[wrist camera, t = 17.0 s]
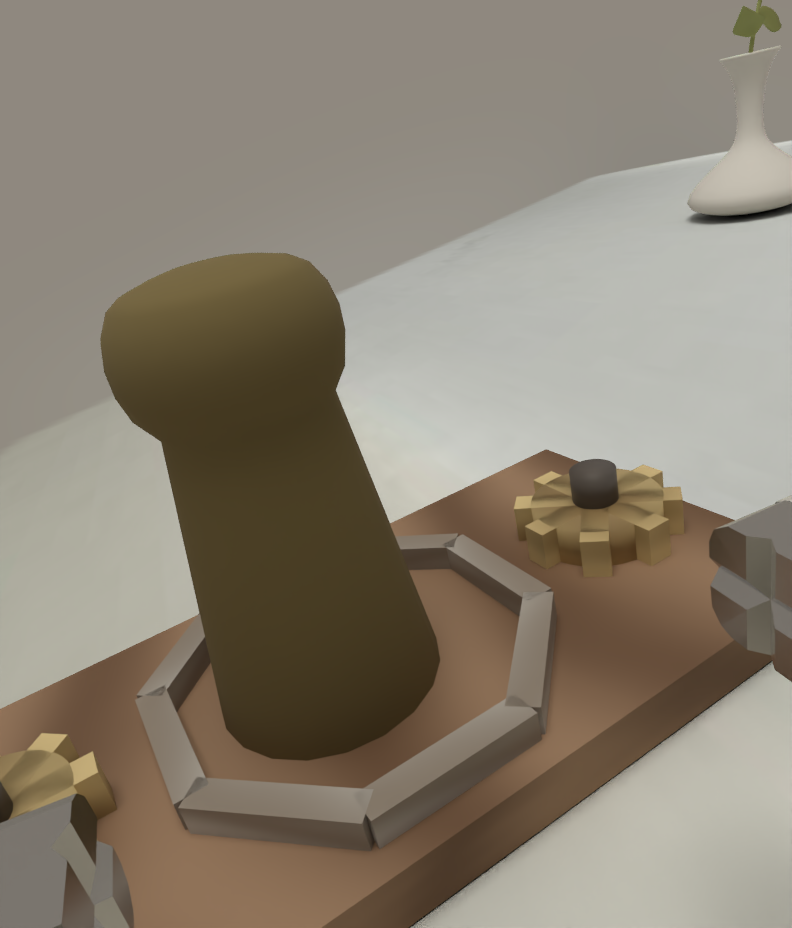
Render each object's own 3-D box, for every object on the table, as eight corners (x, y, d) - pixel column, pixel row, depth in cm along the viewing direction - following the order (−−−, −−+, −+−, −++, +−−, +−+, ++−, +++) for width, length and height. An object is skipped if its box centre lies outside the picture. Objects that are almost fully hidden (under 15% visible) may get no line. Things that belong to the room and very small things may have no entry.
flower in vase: (769, 224, 64) (770, -122, 54) (663, 226, 73) (646, -69, 63) (854, 190, 69) (869, -130, 59) (745, 196, 79) (742, -80, 69)
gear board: (550, 482, 30) (539, 398, 28) (843, 608, 20) (850, 489, 18) (-96, 804, 21) (-164, 707, 19) (-150, 1336, 11) (-299, 1220, 9)
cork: (194, 669, 21) (39, 294, 17) (373, 579, 23) (280, 228, 19) (267, 806, 16) (74, 322, 12) (486, 673, 18) (396, 228, 14)
